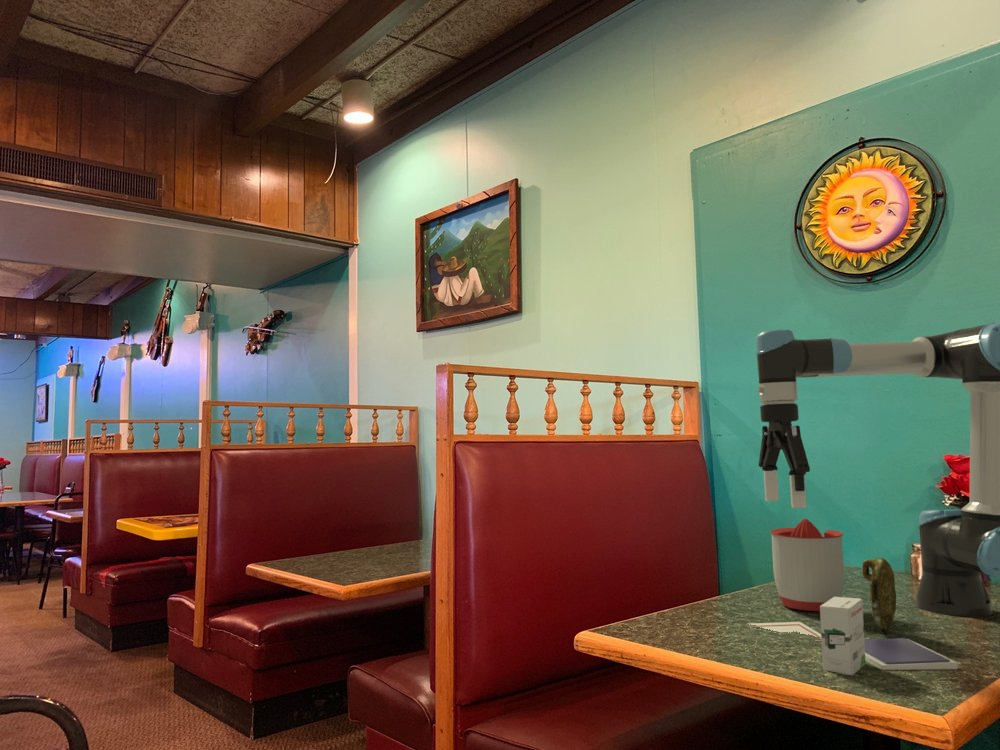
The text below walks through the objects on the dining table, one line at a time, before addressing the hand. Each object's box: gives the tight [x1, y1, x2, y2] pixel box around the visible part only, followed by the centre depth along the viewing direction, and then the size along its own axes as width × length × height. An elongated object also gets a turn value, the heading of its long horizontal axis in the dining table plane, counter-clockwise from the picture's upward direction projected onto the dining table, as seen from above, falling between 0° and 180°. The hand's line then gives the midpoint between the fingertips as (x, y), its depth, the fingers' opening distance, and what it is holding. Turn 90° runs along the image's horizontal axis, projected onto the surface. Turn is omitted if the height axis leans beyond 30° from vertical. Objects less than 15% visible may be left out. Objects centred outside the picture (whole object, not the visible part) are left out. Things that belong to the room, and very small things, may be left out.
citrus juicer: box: [769, 518, 845, 613], centre depth 170 cm, size 16×17×20 cm
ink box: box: [819, 596, 866, 676], centre depth 125 cm, size 9×5×12 cm, turn 140°
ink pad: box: [864, 637, 959, 671], centre depth 131 cm, size 13×14×2 cm
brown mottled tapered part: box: [862, 557, 897, 635], centre depth 147 cm, size 9×5×15 cm, turn 136°
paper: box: [746, 621, 822, 642], centre depth 147 cm, size 16×16×1 cm
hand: (785, 504), depth 155 cm, fingers open, 13 cm apart
